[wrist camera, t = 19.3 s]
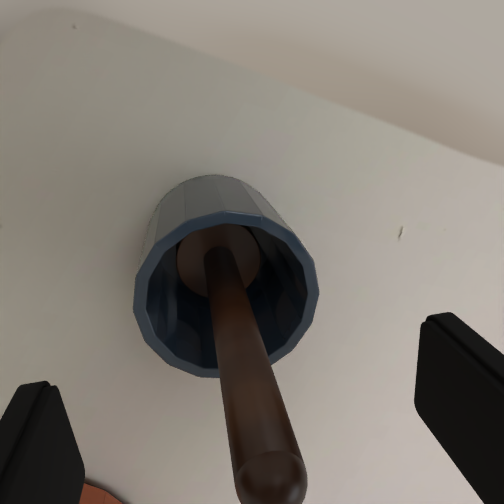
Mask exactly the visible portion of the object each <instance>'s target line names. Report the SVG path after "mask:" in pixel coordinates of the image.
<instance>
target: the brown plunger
mask: <svg viewBox="0 0 504 504" xmlns="http://www.w3.org/2000/svg"><path fill="white" fill-rule="evenodd" d="M260 264H261V251H260V247H259V244H258V242H257V240H256V238H255V236H254V234H253V232H252V230H251V229H250V227H249V226H244V225H236V224H228V223H224V224H221V225H217V226H213V227H209V228H205V229H202V230H198V231H194V232H191V233H190V234H189V235H187V236H186V237H185V238H183V239H182V240H181V241H179V242H178V243H177V244H176V268H177V272H178V274H179V277H180V278H181V280H182V282H183V283H184V284H185V285H186V286H187V287H188V288H189V289H190V290H191V291H193V292H194V293H196V294H198V295H200V296H203V297H206V298H209V305H210V312H211V319H212V326H213V333H214V340H215V347H216V354H217V362H218V369H219V376H220V383H221V390H222V397H223V404H224V411H225V419H226V426H227V433H228V440H229V447H230V454H231V461H232V468H233V476H234V483H235V489H236V493H237V496H238V498H239V500H240V502H241V504H302V502H303V500H304V498H305V495H306V491H307V472H306V468H305V464H304V461H303V459H302V456H301V453H300V450H299V447H298V444H297V441H296V438H295V435H294V432H293V429H292V426H291V423H290V420H289V417H288V414H287V411H286V408H285V405H284V402H283V399H282V396H281V393H280V391H279V388H278V385H277V382H276V379H275V376H274V373H273V370H272V367H271V364H270V361H269V358H268V355H267V352H266V349H265V346H264V343H263V340H262V337H261V334H260V331H259V328H258V325H257V323H256V320H255V317H254V314H253V311H252V308H251V305H250V302H249V299H248V296H247V293H246V290H245V289H246V288H247V287H248V286H249V285H250V284H251V283H252V282H253V280H254V279H255V277H256V276H257V273H258V271H259V268H260Z"/></svg>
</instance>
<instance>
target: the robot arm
mask: <svg viewBox="0 0 504 504" xmlns="http://www.w3.org/2000/svg"><path fill="white" fill-rule="evenodd" d="M414 404H415V408H416V410H417V413H418V414H419V416H420V417H421V419H422V420H423V421H424V423H425V424H426V425H427V427H428V428H429V429H430V431H431V432H432V433H433V435H434V436H435V438H436V439H437V440H438V442H439V443H440V444H441V446H442V447H443V448H444V450H445V451H446V452H447V454H448V455H449V457H450V458H451V459H452V461H453V462H454V463H455V465H456V466H457V467H458V469H459V470H460V471H461V473H462V474H463V476H464V477H465V478H466V480H467V481H468V482H469V484H470V485H471V486H472V488H473V489H474V490H475V492H476V493H477V495H478V496H479V497H480V499H481V500H482V501H483V503H484V504H504V355H503V354H502V353H501V352H500V351H498V350H497V349H496V348H495V347H494V346H492V345H491V344H490V343H489V342H487V341H486V340H485V339H484V338H483V337H481V336H480V335H479V334H478V333H476V332H475V331H474V330H473V329H472V328H470V327H469V326H468V325H467V324H465V323H464V322H463V321H462V320H461V319H459V318H458V317H457V316H456V315H454V314H453V313H451V312H446V313H440V314H434V315H429V316H427V318H426V321H425V322H423V323H422V324H421V327H420V338H419V350H418V361H417V373H416V384H415V396H414ZM84 480H85V468H84V464H83V461H82V458H81V455H80V452H79V449H78V446H77V443H76V440H75V437H74V434H73V431H72V428H71V425H70V422H69V419H68V416H67V413H66V410H65V407H64V404H63V401H62V398H61V395H60V392H59V389H58V387H57V386H55V385H54V386H50V384H49V383H48V381H41V382H35V383H29V384H23V385H20V386H19V387H18V388H17V390H16V392H15V394H14V396H13V397H12V399H11V401H10V403H9V405H8V407H7V409H6V410H5V412H4V414H3V416H2V418H1V420H0V504H79V502H80V498H81V494H82V489H83V485H84Z"/></svg>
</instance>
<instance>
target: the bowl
mask: <svg viewBox="0 0 504 504" xmlns="http://www.w3.org/2000/svg"><path fill="white" fill-rule="evenodd" d="M79 504H123V503H121V502H120V501H119V500H117V499H116V498H115V497H113V496H112V495H110V494H109V493H108V492H105V490H102V489H99V488H96V487H93V486H91V485H88V484H85V483H84V485H83V489H82V494H81V498H80V502H79Z"/></svg>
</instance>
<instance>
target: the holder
mask: <svg viewBox="0 0 504 504" xmlns="http://www.w3.org/2000/svg"><path fill="white" fill-rule="evenodd" d="M224 223H228V224H236V225H244V226H249V227H250V229H251V230H252V232H253V234H254V236H255V238H256V240H257V242H258V244H259V247H260V251H261V264H260V268H259V271H258V273H257V276H256V277H255V279H254V280H253V282H252V283H251V284H250V285H249V286H248V287H247V288H246V289H245V290H246V293H247V296H248V299H249V302H250V305H251V308H252V311H253V314H254V317H255V320H256V323H257V325H258V328H259V331H260V334H261V337H262V340H263V343H264V346H265V349H266V352H267V355H268V358H269V361H270V364H271V365H272V364H274V363H275V362H277V361H278V360H279V359H281V358H282V357H284V356H285V355H287V354H288V353H290V352H291V351H292V350H293V349H294V348H295V346H296V345H297V344H298V342H299V341H300V339H301V338H302V337H303V335H304V334H305V332H306V331H307V330H308V328H309V327H310V325H311V323H312V321H313V317H314V313H315V309H316V305H317V301H318V297H319V287H318V281H317V276H316V270H315V264H314V261H313V259H312V257H311V256H310V255H309V253H308V252H307V250H306V249H305V247H304V246H303V245H302V243H301V242H300V240H299V239H298V238H297V236H296V235H295V233H294V232H293V231H292V230H291V229H290V228H289V226H288V225H287V224H286V223H285V222H284V220H283V219H282V218H281V217H280V216H279V214H278V213H277V212H276V211H275V210H274V208H273V207H272V206H271V205H270V204H269V202H268V201H267V200H266V199H265V198H264V197H263V195H262V194H261V193H260V192H258V191H257V190H255V189H254V188H253V187H251V186H250V185H248V184H247V183H245V182H243V181H241V180H238V179H235V178H233V177H228V176H224V175H205V176H199V177H195V178H192V179H189V180H187V181H185V182H183V183H181V184H179V185H178V186H176V187H175V188H173V189H172V190H171V191H170V192H169V193H167V194H166V195H165V197H164V198H163V199H162V200H161V201H160V203H159V204H158V206H157V207H156V209H155V211H154V214H153V216H152V218H151V220H150V222H149V225H148V229H147V233H146V237H145V241H144V245H143V249H142V253H141V257H140V261H139V265H138V269H137V273H136V277H135V289H134V300H133V312H134V315H135V318H136V320H137V323H138V326H139V328H140V331H141V333H142V336H143V339H144V341H145V342H146V343H147V344H148V345H149V346H150V347H151V348H152V349H153V350H154V351H155V352H156V353H157V354H158V355H159V356H160V357H161V358H162V359H163V360H164V361H165V362H166V363H167V364H169V365H170V366H173V367H175V368H178V369H180V370H183V371H185V372H188V373H190V374H192V375H195V376H197V377H205V378H220V376H219V369H218V362H217V354H216V347H215V340H214V333H213V326H212V319H211V312H210V305H209V298H206V297H203V296H200V295H198V294H196V293H194V292H193V291H191V290H190V289H189V288H188V287H187V286H186V285H185V284H184V283H183V282H182V280H181V278H180V277H179V274H178V272H177V268H176V244H177V243H178V242H179V241H181V240H182V239H183V238H185V237H186V236H187V235H189V234H190V233H191V232H194V231H198V230H202V229H205V228H209V227H213V226H217V225H221V224H224Z"/></svg>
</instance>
